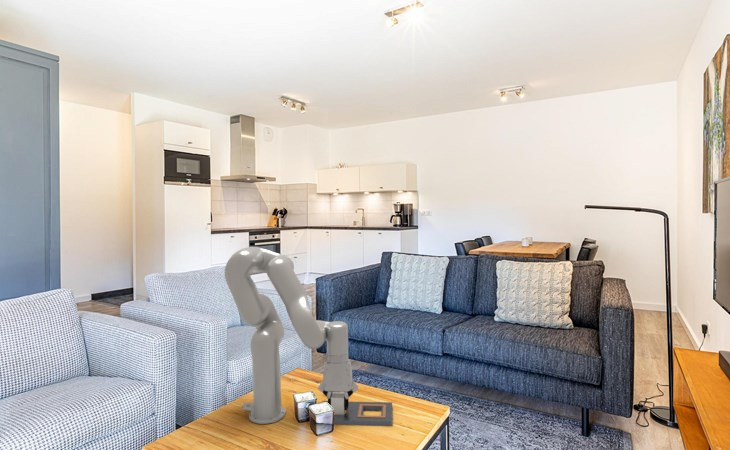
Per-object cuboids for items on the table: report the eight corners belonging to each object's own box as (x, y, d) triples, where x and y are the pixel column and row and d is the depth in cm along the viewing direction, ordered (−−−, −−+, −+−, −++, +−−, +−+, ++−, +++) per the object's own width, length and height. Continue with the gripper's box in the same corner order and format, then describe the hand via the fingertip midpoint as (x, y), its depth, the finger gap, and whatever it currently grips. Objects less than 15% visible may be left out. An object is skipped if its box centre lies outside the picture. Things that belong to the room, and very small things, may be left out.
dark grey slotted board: (315, 424, 141) (315, 419, 141) (322, 404, 155) (322, 400, 155) (392, 425, 139) (392, 420, 139) (392, 406, 153) (392, 401, 153)
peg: (331, 417, 145) (330, 397, 145) (333, 411, 150) (332, 392, 149) (343, 417, 145) (343, 397, 145) (345, 411, 149) (345, 392, 149)
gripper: (311, 360, 143) (312, 413, 144) (360, 361, 142) (361, 414, 143) (316, 353, 151) (316, 403, 151) (362, 354, 150) (362, 404, 150)
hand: (338, 407), depth 147 cm, fingers closed on peg, 4 cm apart
